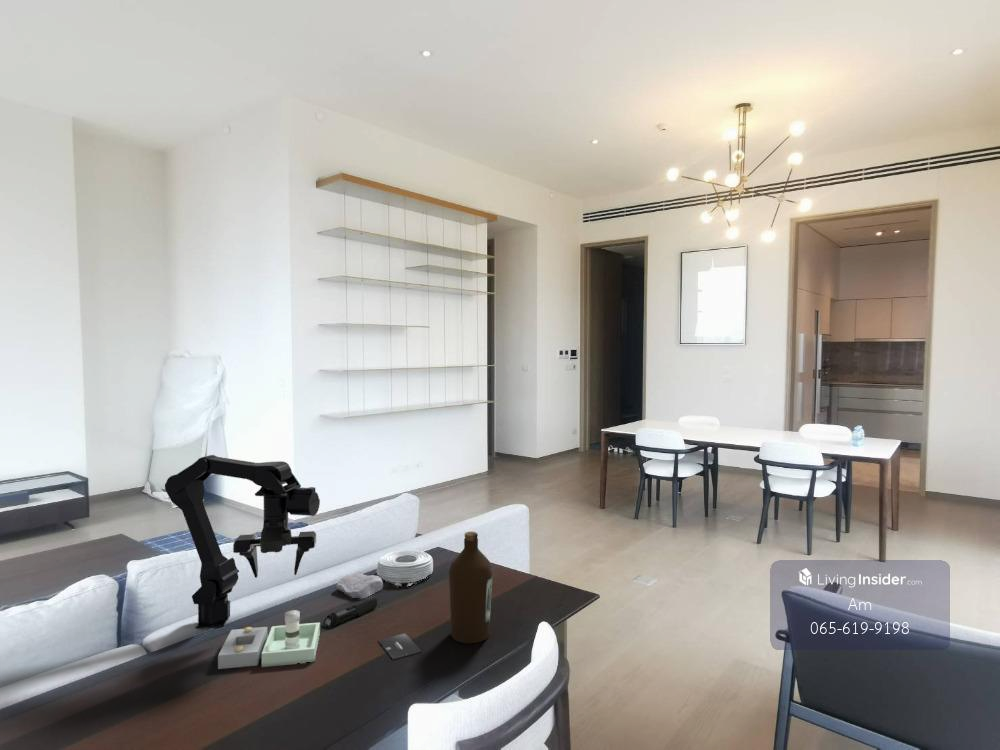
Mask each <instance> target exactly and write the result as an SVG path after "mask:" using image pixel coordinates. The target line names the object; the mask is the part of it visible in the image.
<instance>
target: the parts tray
mask: <svg viewBox="0 0 1000 750" xmlns="http://www.w3.org/2000/svg"><path fill="white" fill-rule="evenodd" d="M320 634H321V622H310V623H309V622H308V623H299V639H300V647H299V648H298V649H288V650H285V624H284V625H274V626H271V628H270V631H269V634H268V638H267V641H266V643H265V646H264V649H263V651H262V655H261V668H267V667H268V668H269V667H278V666H279V667H281V666H285V665H286V666H288V665H298V664H297V663H300V664H307V663H306V662H311V663H315V661H316V656H317V652H318V651H317V650H318V645H319V642H320V641H319V640H320V637H319V636H321V635H320ZM318 641H319V642H318ZM316 651H317V652H316Z"/></svg>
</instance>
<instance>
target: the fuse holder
mask: <svg viewBox="0 0 1000 750" xmlns="http://www.w3.org/2000/svg"><path fill="white" fill-rule="evenodd" d="M268 635H269V634H268V626H262V627H260V626H259V627H252V626H247V627H245V628H239V629H238V628H237V629H231V630H230V632H229V634H228V636H227V637H226V639H225V642H224V644H223V645H222V647H221V649H220V651H219V653H218V655H217V669H218V670H222V669H224V670H225V669H230V668H231V669H232V668H234V669H235V668H245V667H253V666H254V667H256V666H258V665H259V662H260V660H261V659H262V651H263V649H264V646H265V643H266V641H267V638H268Z"/></svg>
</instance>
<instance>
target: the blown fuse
mask: <svg viewBox="0 0 1000 750" xmlns="http://www.w3.org/2000/svg"><path fill="white" fill-rule="evenodd" d="M300 613H301V612H300V611H299V610H295V609H293V610H288V611H287V612H285V613H284V625H285V650H288V649H298V648H299V647H300V639H299V624H300V621H301V619H300V618H301V617H300V616H301V615H300Z"/></svg>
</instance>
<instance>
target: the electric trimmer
mask: <svg viewBox="0 0 1000 750" xmlns="http://www.w3.org/2000/svg"><path fill="white" fill-rule="evenodd" d="M377 605H378V599H377V597H373V598H371V599H368V600H365V601H363V602H359V603H356V604H353V605H352V606H349V607H346V608H344V609H341V610H339V611H337V612H333V611H332V612H331V613H330V614H328V615H327V616H326V617H325V619H324V620H323V623H322V625H323V624H324V625H326V626H327V627H326V626H325V627H326V628H328V627H329V628H328V629H333V627H334V628H335V626H336V625H339V624H341V623H343V622H345V620H346V621H348V620H350V619H352V618H355V616H359V617H361V616H363V615H365V614H367V613H368V612H370V611H371V610H374V609H375V608H376V607H377ZM324 625H323V626H324Z"/></svg>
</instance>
